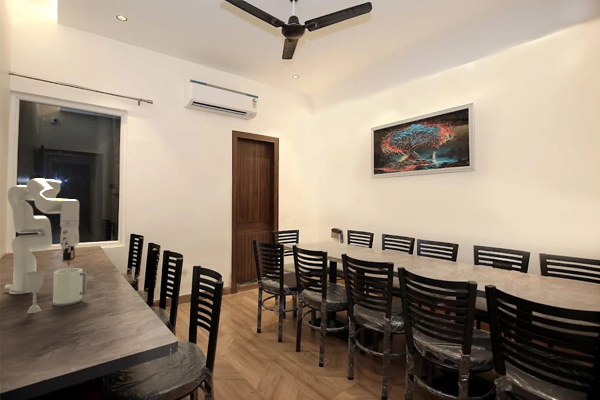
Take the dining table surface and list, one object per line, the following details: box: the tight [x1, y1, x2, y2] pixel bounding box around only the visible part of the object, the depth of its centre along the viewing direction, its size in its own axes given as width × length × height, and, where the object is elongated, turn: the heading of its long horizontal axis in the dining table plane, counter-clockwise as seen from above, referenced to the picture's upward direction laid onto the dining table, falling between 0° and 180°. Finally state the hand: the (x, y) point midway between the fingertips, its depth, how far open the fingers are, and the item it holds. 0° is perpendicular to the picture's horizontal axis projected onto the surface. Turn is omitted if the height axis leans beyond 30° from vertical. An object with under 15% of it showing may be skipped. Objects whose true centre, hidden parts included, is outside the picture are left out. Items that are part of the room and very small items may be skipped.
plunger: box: [61, 250, 76, 273], centre depth 152 cm, size 6×6×21 cm
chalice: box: [25, 270, 46, 314], centre depth 139 cm, size 7×7×18 cm
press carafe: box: [52, 267, 88, 307], centre depth 152 cm, size 14×12×16 cm
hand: (68, 259), depth 152 cm, fingers closed on plunger, 3 cm apart
